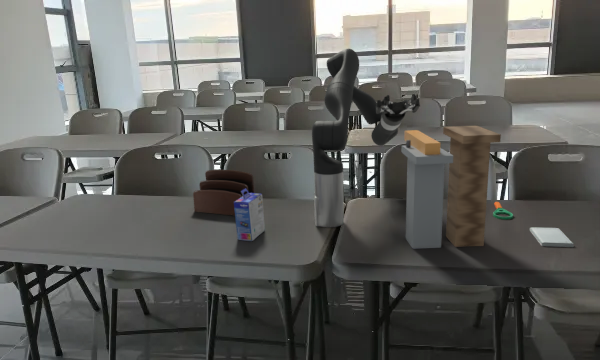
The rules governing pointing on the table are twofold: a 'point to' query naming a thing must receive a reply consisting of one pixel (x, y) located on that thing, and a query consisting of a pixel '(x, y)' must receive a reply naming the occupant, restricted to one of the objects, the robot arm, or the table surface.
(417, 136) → the orange bar
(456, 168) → the tall walnut stand
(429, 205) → the tall gray pegged stand
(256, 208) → the ink cartridge box
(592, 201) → the table surface
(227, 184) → the letter holder
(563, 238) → the hard drive
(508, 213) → the magnifying glass
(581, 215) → the table surface
